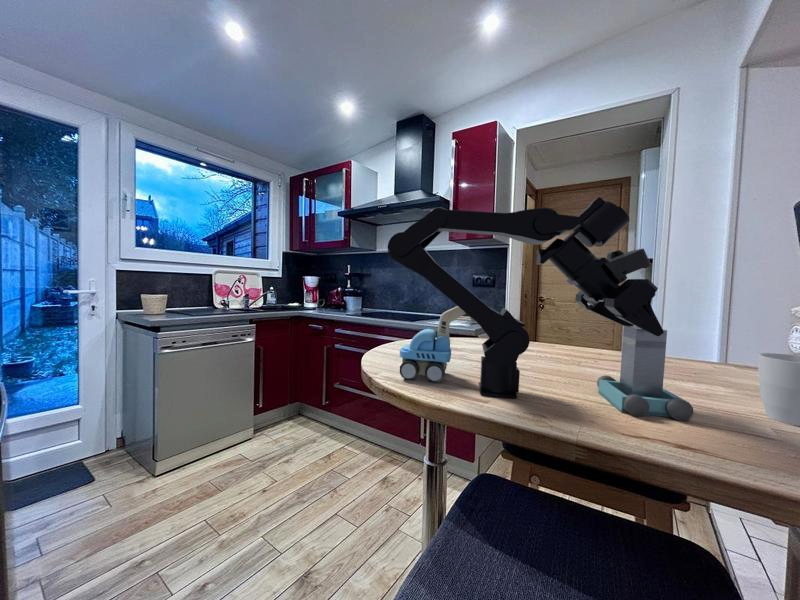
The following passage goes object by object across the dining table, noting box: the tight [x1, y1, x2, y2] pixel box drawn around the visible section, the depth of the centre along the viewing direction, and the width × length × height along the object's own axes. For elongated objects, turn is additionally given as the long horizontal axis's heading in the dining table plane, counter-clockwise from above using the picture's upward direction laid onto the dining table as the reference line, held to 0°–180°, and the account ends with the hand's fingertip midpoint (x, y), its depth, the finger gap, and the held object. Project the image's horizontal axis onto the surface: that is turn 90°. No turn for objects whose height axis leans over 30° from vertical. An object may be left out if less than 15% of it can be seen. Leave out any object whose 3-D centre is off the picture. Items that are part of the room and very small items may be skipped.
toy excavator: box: [399, 305, 476, 384], centre depth 69 cm, size 9×17×17 cm, turn 78°
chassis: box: [596, 374, 694, 422], centre depth 56 cm, size 10×12×3 cm
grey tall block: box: [619, 325, 668, 398], centre depth 56 cm, size 4×4×13 cm
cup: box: [757, 352, 800, 427], centre depth 51 cm, size 8×8×10 cm
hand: (645, 330), depth 56 cm, fingers open, 9 cm apart
